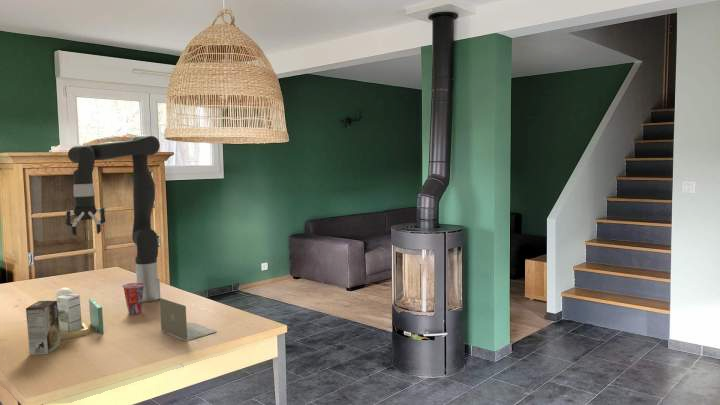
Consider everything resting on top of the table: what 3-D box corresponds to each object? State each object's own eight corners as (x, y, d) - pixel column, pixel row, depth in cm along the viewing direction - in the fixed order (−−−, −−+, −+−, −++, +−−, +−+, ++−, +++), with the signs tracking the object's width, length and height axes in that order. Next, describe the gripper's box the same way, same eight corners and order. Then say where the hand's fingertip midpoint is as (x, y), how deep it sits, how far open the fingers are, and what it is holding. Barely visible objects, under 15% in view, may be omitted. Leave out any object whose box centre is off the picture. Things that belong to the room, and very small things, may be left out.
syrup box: (83, 331, 206) (80, 294, 204) (69, 336, 200) (67, 298, 199) (71, 330, 208) (69, 293, 206) (58, 335, 202) (55, 296, 201)
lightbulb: (66, 315, 228) (64, 289, 227) (54, 315, 229) (52, 289, 228) (77, 311, 234) (75, 286, 233) (64, 311, 235) (62, 286, 234)
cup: (150, 311, 232) (148, 283, 230) (134, 316, 224) (132, 288, 223) (134, 309, 235) (132, 281, 234) (118, 314, 228) (116, 286, 227)
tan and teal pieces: (94, 323, 216) (93, 298, 215) (103, 333, 203) (102, 307, 202) (51, 331, 207) (49, 305, 206) (58, 342, 194) (56, 314, 193)
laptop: (217, 333, 202) (215, 298, 200) (186, 342, 192) (184, 306, 191) (190, 323, 213) (189, 291, 212) (160, 332, 204) (159, 297, 203)
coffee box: (41, 345, 191) (38, 300, 190) (61, 344, 191) (57, 299, 190) (28, 355, 182) (24, 307, 181) (48, 354, 182) (45, 307, 181)
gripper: (101, 193, 229) (103, 231, 231) (62, 195, 221) (65, 235, 222) (105, 194, 223) (107, 233, 225) (66, 196, 215) (68, 237, 216)
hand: (86, 234), depth 223 cm, fingers open, 8 cm apart
